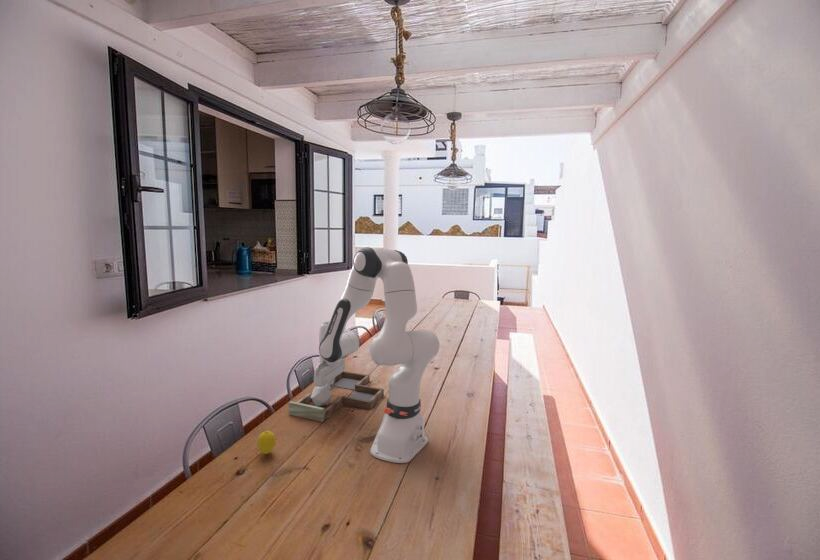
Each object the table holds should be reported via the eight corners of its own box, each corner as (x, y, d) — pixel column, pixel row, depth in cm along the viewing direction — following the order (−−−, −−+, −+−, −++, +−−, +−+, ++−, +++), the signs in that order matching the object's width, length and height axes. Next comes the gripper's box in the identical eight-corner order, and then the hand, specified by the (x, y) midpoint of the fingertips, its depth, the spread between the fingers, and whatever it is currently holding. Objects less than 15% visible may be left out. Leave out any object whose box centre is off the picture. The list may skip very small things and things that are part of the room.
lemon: (265, 461, 120) (264, 437, 119) (254, 455, 123) (253, 432, 122) (279, 452, 125) (279, 429, 124) (268, 447, 128) (267, 424, 127)
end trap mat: (354, 390, 174) (354, 389, 174) (331, 386, 178) (331, 385, 178) (364, 381, 184) (364, 381, 184) (342, 378, 188) (342, 377, 188)
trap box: (351, 428, 142) (352, 415, 141) (288, 414, 150) (288, 402, 150) (393, 385, 181) (393, 375, 181) (341, 376, 190) (341, 366, 190)
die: (327, 412, 155) (337, 389, 158) (308, 403, 152) (319, 380, 156) (323, 410, 162) (333, 389, 166) (305, 402, 160) (315, 380, 163)
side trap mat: (368, 406, 159) (368, 406, 159) (343, 402, 162) (343, 401, 162) (378, 396, 169) (378, 395, 169) (355, 391, 173) (355, 391, 173)
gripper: (323, 366, 152) (323, 399, 153) (347, 352, 171) (347, 381, 173) (309, 364, 154) (309, 397, 155) (335, 350, 173) (334, 379, 175)
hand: (329, 388), depth 164 cm, fingers closed
